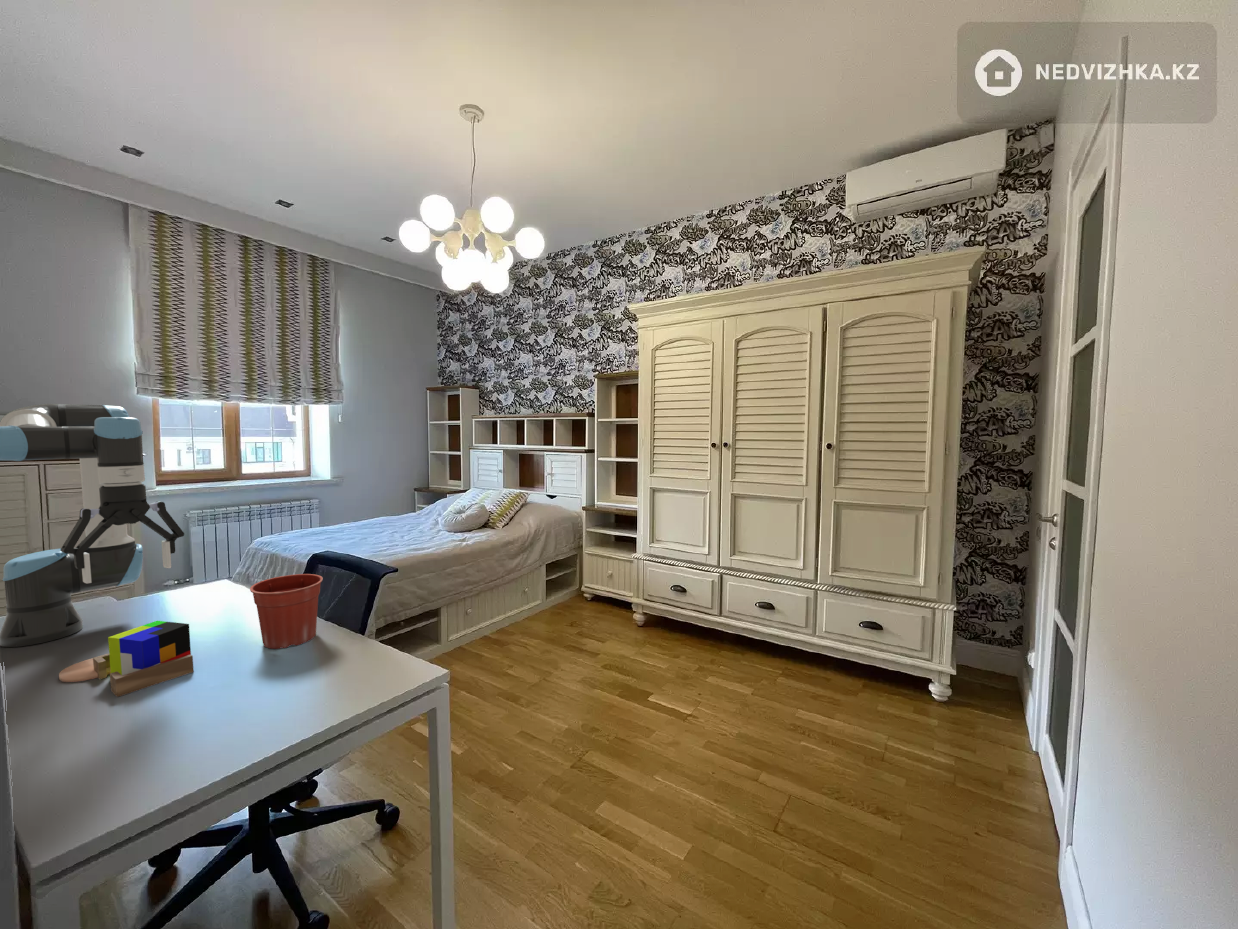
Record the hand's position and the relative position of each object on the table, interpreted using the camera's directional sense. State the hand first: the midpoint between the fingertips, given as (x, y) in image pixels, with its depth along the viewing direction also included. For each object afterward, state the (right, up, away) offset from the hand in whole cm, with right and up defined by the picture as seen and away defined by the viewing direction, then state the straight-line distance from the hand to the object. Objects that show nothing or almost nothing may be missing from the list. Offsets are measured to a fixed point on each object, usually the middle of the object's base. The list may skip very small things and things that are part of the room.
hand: (129, 574), depth 114 cm
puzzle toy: (+3, -24, +3) cm, 24 cm away
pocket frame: (+2, -24, +2) cm, 24 cm away
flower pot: (+24, -23, +20) cm, 39 cm away
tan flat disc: (-11, -24, +3) cm, 26 cm away
